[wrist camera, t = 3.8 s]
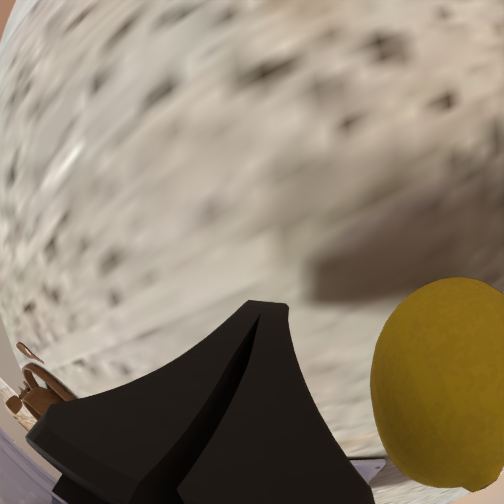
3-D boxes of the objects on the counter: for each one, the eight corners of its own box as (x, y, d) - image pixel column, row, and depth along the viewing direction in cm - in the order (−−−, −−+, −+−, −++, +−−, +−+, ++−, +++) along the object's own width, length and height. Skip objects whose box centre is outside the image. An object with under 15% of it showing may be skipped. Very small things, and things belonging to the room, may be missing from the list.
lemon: (492, 247, 8) (608, 386, 1) (452, 353, 10) (493, 497, 3) (374, 233, 9) (456, 459, 2) (348, 353, 11) (344, 531, 4)
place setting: (119, 449, 27) (101, 479, 22) (29, 391, 30) (11, 411, 25) (72, 370, 20) (36, 411, 14) (-15, 307, 23) (-42, 329, 18)
